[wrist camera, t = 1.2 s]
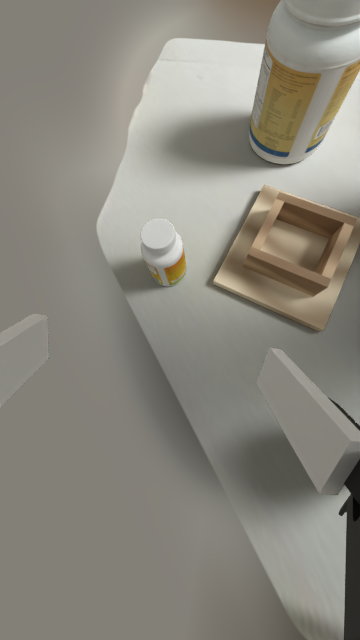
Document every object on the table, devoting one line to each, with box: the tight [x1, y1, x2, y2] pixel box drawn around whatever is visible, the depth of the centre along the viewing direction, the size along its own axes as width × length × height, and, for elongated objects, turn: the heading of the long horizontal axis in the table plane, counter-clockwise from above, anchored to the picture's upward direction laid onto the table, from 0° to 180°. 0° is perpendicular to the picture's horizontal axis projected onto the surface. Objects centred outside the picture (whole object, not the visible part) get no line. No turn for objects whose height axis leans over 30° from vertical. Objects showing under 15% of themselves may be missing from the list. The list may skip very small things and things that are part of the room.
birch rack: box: [213, 185, 360, 332], centre depth 31 cm, size 18×16×5 cm
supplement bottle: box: [140, 218, 186, 286], centre depth 30 cm, size 5×5×10 cm
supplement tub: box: [249, 0, 360, 164], centre depth 30 cm, size 12×12×17 cm
